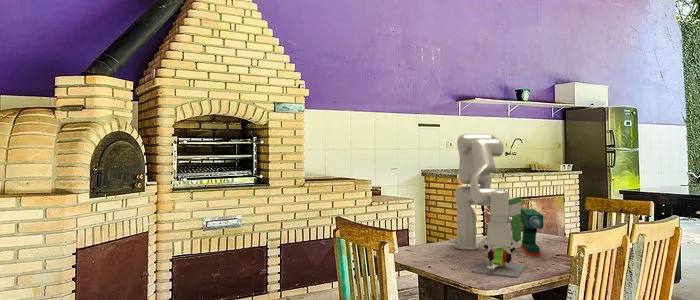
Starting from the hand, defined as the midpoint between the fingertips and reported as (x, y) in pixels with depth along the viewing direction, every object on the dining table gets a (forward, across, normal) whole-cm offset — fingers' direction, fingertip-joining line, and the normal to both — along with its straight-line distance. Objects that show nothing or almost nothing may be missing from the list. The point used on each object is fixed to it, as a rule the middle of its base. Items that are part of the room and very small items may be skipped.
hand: (499, 261), depth 199 cm
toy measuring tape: (+1, 0, +2) cm, 3 cm away
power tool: (+4, -8, -36) cm, 37 cm away
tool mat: (+3, 0, 0) cm, 3 cm away
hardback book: (+4, +8, -63) cm, 64 cm away
